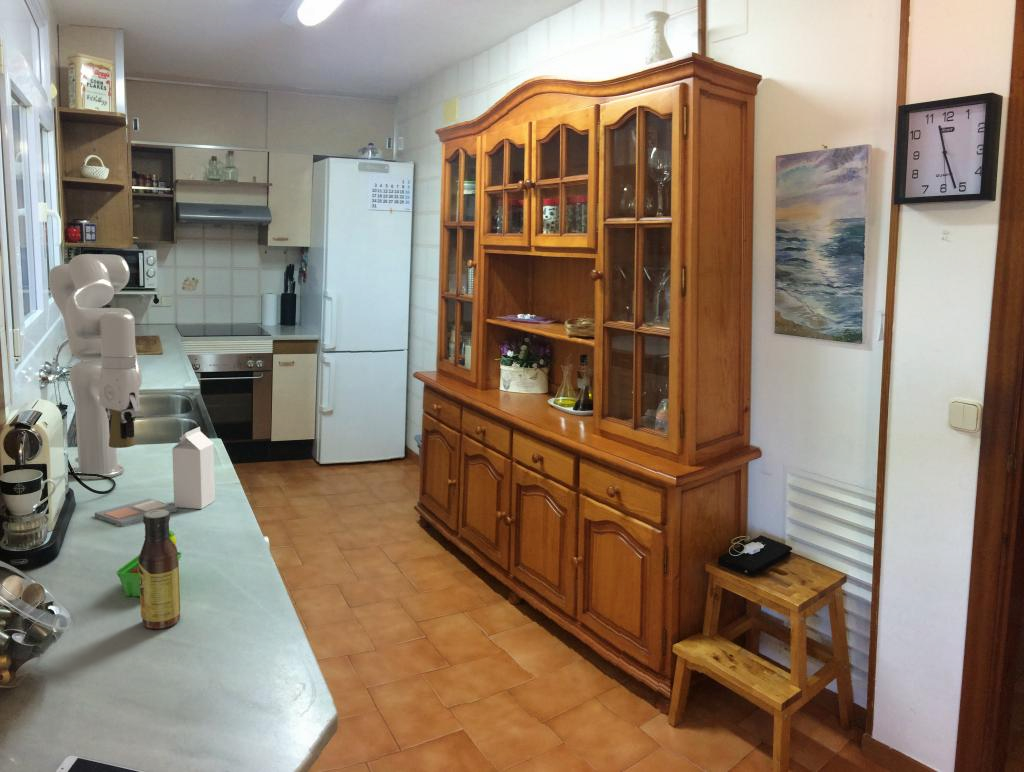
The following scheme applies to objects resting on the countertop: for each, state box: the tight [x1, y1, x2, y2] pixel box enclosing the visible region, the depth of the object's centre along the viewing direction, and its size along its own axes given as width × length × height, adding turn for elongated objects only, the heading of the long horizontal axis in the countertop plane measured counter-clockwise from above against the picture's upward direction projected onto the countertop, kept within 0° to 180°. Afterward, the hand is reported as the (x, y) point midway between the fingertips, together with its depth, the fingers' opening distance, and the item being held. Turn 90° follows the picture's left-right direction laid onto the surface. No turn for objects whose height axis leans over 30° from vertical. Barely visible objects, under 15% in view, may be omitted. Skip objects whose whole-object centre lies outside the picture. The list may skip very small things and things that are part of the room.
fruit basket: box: [116, 529, 182, 597], centre depth 151 cm, size 11×9×11 cm
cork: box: [109, 407, 136, 449], centre depth 197 cm, size 6×6×11 cm
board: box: [94, 498, 178, 527], centre depth 191 cm, size 11×14×1 cm
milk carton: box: [171, 426, 216, 510], centre depth 198 cm, size 7×7×19 cm
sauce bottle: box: [138, 510, 182, 630], centre depth 136 cm, size 7×6×20 cm
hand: (121, 435), depth 197 cm, fingers closed on cork, 4 cm apart
